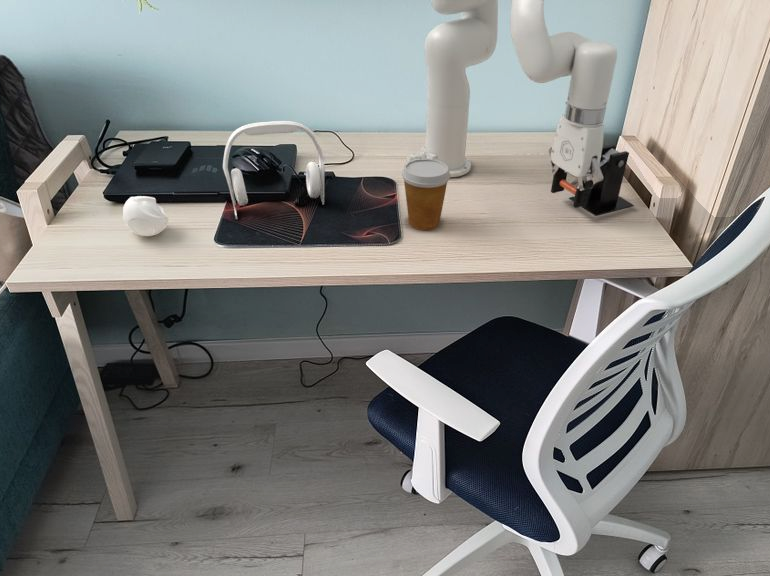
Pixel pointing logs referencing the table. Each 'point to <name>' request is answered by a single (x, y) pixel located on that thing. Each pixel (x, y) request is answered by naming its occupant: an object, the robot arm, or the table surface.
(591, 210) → the stand
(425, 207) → the disposable coffee cup
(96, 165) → the table surface
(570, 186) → the lever
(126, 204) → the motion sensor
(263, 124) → the headset
